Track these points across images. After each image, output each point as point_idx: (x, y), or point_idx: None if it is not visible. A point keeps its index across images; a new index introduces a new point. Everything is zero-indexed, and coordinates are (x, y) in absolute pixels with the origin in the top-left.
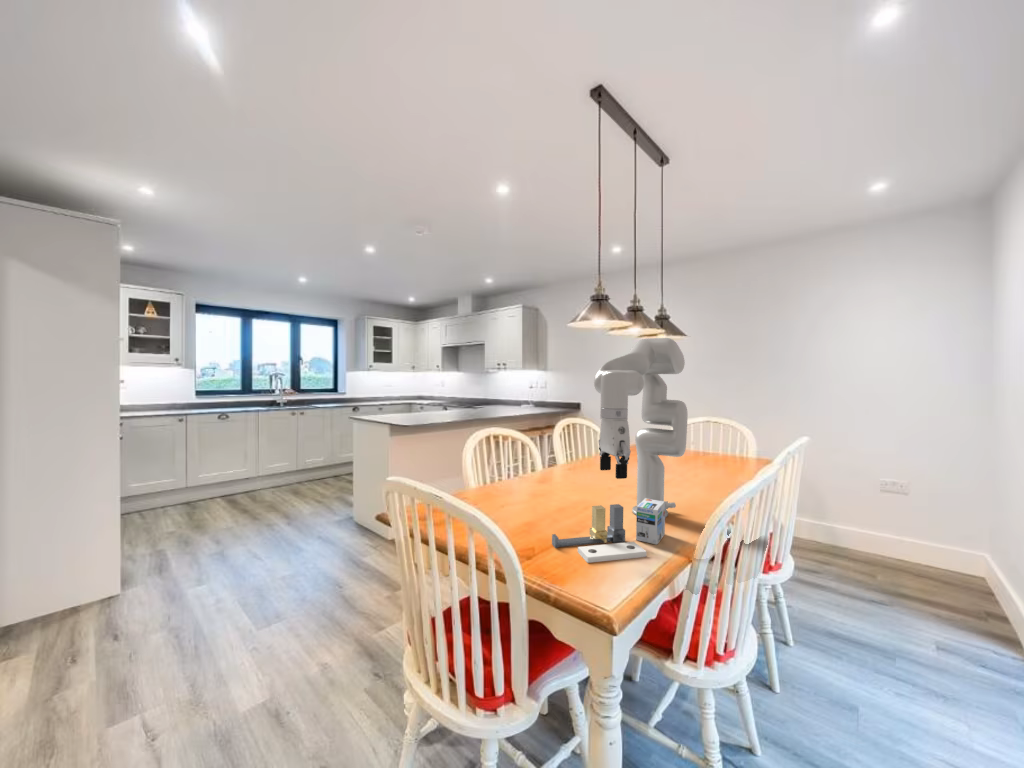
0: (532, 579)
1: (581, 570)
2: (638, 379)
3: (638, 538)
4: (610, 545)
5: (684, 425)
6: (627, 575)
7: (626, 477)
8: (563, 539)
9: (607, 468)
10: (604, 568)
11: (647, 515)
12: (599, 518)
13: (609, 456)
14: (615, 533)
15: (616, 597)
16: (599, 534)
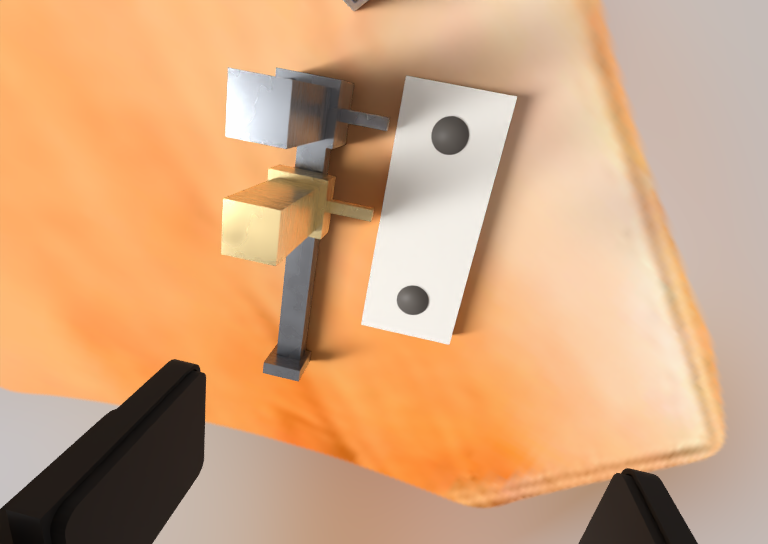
0: (463, 504)
1: (483, 378)
2: None
3: (362, 2)
4: (397, 205)
5: None
6: (591, 276)
7: (653, 479)
8: (284, 331)
9: (194, 416)
10: (509, 311)
11: None
12: (296, 231)
13: (24, 530)
14: (336, 136)
15: (672, 391)
16: (326, 217)
